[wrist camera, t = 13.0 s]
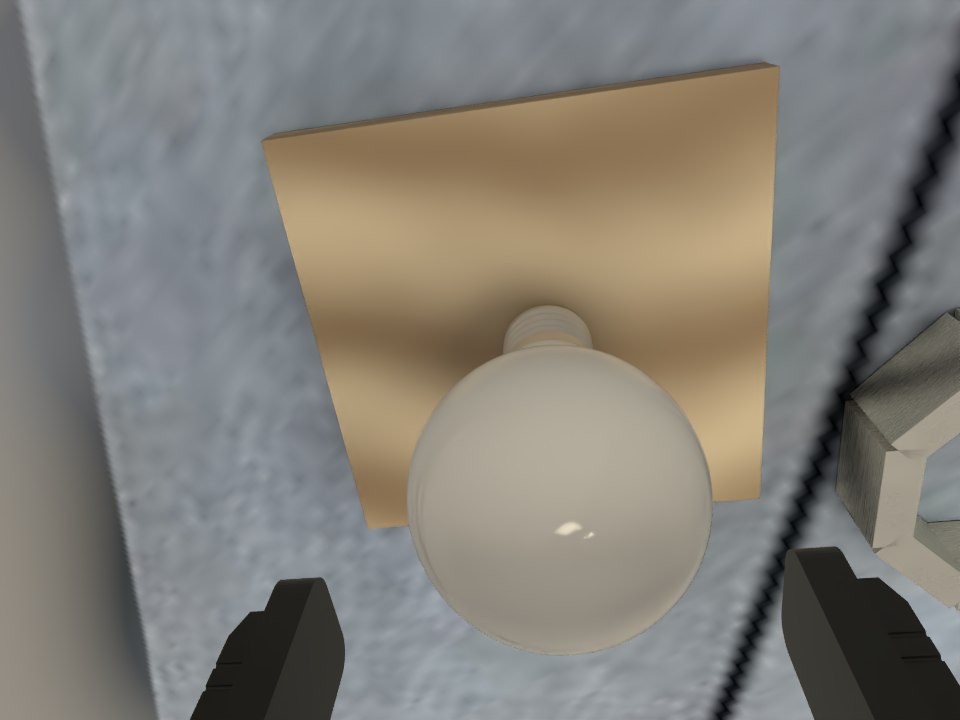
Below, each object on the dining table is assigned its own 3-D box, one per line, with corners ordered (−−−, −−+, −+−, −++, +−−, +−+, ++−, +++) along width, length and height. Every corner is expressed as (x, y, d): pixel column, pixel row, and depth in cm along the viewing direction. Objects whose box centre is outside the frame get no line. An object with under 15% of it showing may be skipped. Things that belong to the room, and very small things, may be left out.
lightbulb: (662, 404, 23) (765, 708, 13) (473, 437, 24) (436, 743, 14) (633, 216, 20) (736, 424, 10) (421, 263, 21) (329, 493, 11)
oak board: (274, 133, 21) (260, 141, 20) (765, 62, 19) (779, 66, 18) (374, 507, 27) (367, 528, 26) (749, 477, 25) (759, 498, 24)
